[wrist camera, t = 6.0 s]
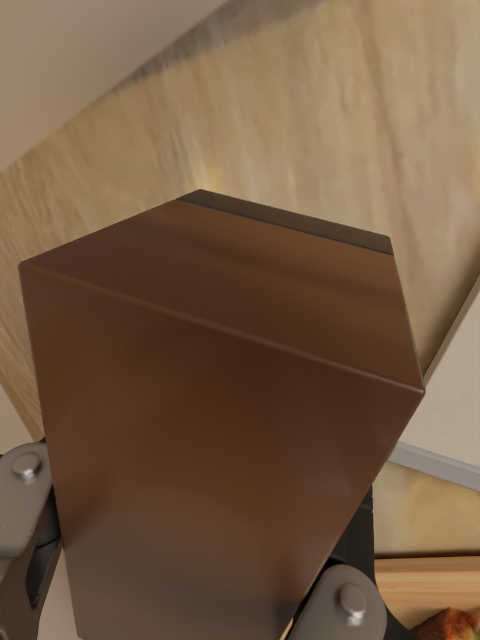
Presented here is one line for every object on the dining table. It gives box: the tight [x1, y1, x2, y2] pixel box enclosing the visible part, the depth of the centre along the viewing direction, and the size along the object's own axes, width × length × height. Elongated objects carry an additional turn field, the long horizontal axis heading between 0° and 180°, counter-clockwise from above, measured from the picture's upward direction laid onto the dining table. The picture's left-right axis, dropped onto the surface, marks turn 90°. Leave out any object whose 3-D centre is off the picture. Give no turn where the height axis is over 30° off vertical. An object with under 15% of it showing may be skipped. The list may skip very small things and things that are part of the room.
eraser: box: [18, 189, 426, 640], centre depth 10 cm, size 12×5×6 cm, turn 170°
